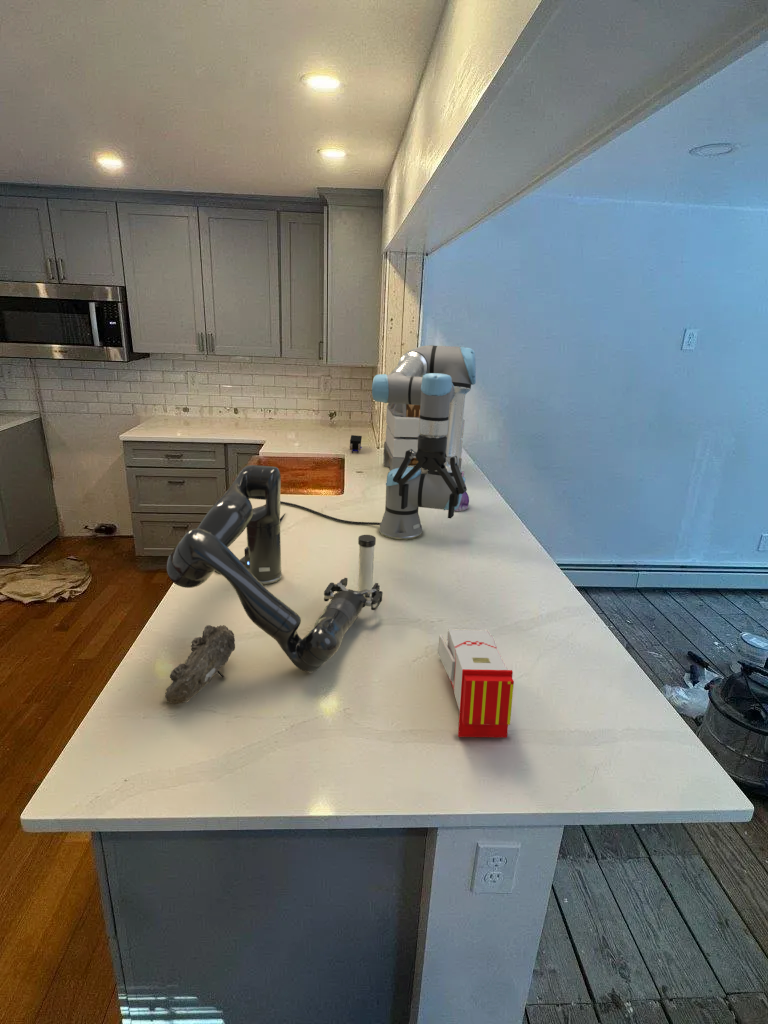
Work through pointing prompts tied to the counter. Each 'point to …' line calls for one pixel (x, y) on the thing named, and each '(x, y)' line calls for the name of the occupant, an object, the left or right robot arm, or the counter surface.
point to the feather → (281, 518)
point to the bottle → (365, 568)
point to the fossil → (201, 663)
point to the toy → (478, 682)
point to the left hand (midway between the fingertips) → (361, 583)
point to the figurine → (463, 500)
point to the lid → (366, 540)
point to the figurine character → (355, 443)
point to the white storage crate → (404, 434)
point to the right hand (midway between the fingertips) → (427, 512)
